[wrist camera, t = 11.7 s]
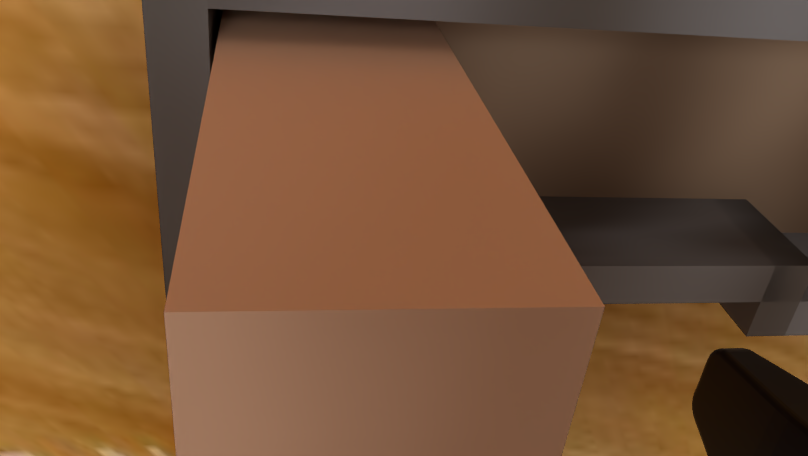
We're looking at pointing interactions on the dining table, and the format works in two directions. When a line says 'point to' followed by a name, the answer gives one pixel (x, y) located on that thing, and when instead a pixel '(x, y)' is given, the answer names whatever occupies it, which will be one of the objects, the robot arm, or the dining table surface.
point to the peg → (365, 257)
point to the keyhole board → (593, 132)
